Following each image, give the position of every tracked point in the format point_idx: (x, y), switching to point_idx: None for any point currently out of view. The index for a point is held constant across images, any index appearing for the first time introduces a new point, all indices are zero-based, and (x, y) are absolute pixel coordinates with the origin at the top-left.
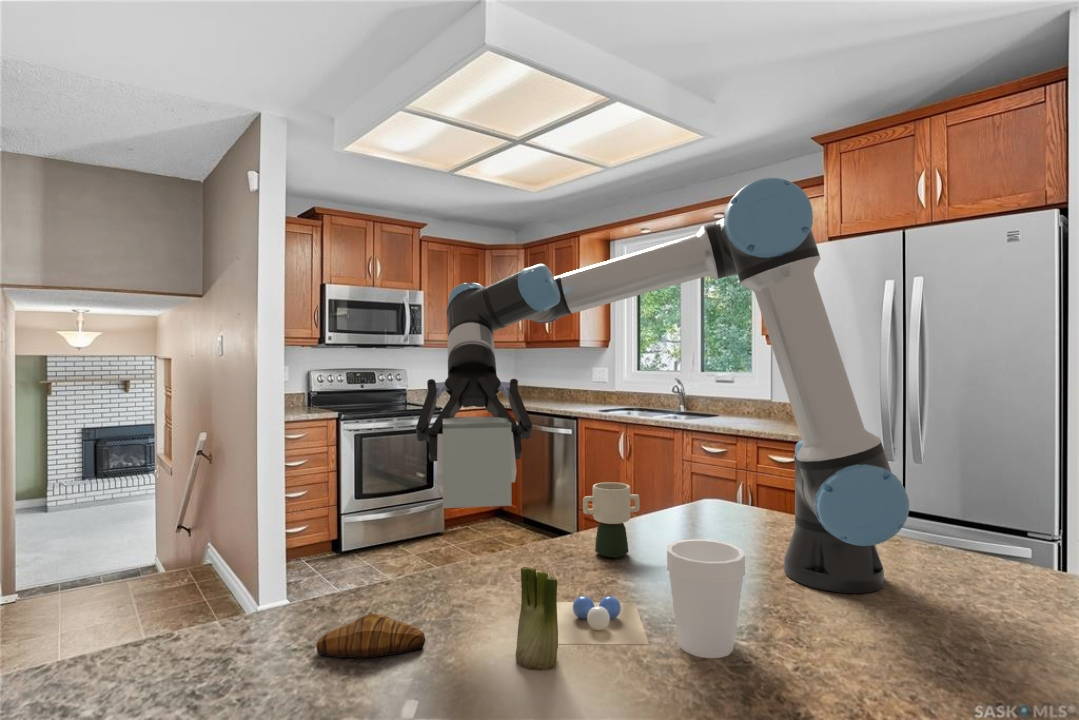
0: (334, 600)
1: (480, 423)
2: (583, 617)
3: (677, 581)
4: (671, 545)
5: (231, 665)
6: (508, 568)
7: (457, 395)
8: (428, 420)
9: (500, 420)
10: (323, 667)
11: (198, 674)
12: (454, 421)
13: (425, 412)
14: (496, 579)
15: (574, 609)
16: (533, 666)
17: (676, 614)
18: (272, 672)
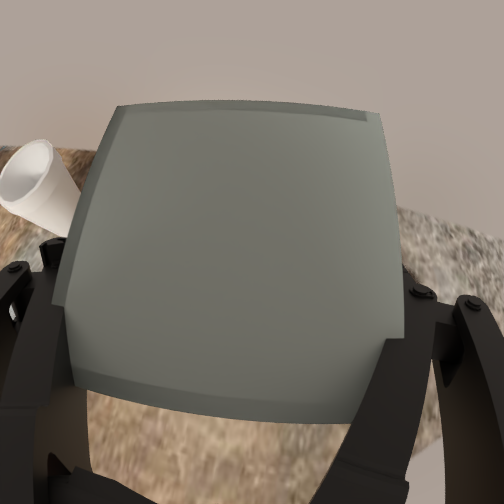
0: (419, 435)
1: (229, 101)
2: None
3: (63, 172)
4: (32, 190)
5: (475, 292)
6: (180, 501)
7: (342, 490)
8: (462, 365)
9: (116, 180)
10: (408, 272)
11: (489, 281)
12: (340, 182)
13: (498, 364)
14: (204, 471)
15: None
16: None
17: (74, 201)
18: (444, 272)
